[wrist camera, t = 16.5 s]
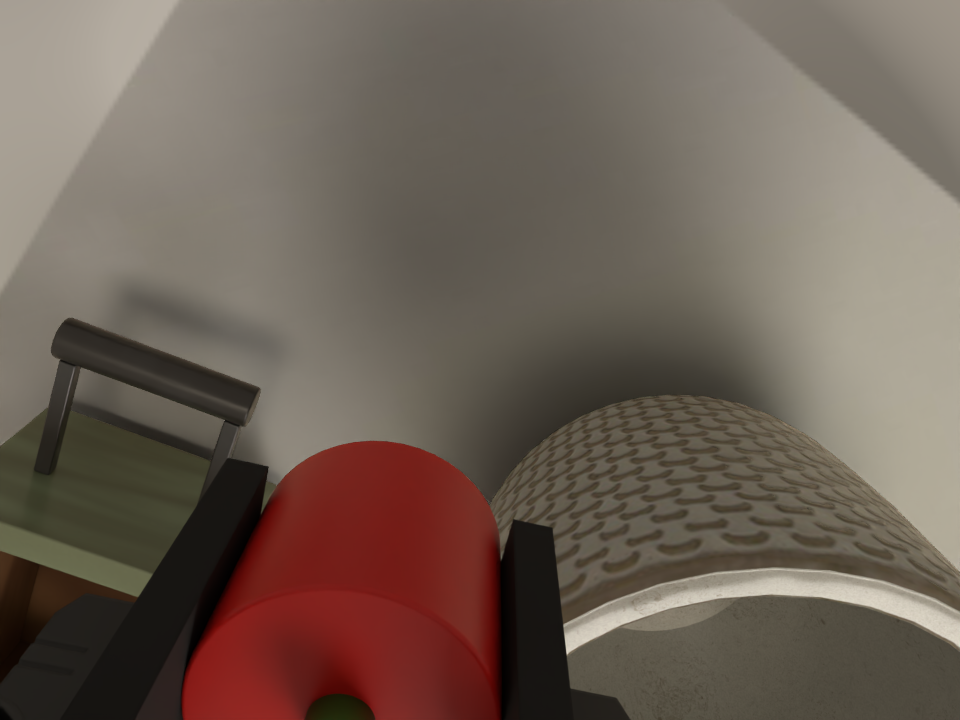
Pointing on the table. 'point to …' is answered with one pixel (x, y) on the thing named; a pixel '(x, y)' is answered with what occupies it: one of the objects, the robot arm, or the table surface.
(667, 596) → the planter
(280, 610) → the pepper
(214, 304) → the table surface
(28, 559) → the drawer
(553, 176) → the table surface
